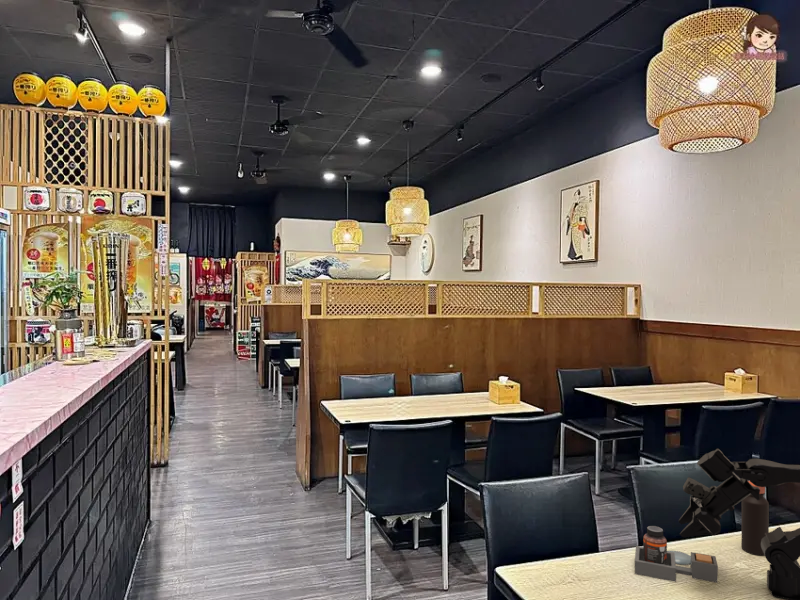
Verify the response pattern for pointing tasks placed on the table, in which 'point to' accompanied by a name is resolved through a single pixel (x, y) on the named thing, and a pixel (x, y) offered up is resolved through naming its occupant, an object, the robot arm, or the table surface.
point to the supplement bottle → (655, 546)
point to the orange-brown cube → (703, 558)
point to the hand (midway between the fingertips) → (680, 529)
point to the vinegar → (754, 522)
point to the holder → (676, 568)
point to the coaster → (681, 558)
